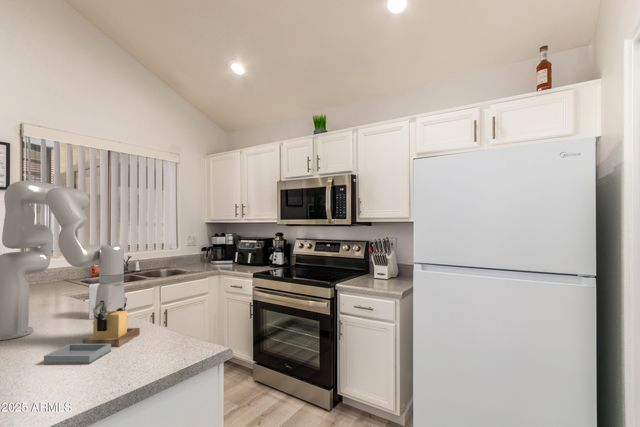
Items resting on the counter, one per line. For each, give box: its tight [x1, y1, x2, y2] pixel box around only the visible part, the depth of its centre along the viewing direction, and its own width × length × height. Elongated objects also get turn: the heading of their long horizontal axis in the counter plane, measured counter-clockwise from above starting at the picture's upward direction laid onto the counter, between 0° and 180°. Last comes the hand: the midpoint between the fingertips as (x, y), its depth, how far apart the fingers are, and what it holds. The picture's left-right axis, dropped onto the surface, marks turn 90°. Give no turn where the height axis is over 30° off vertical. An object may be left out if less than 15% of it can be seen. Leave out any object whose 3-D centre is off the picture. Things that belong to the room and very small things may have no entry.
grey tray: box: [43, 343, 112, 365], centre depth 101 cm, size 14×10×2 cm
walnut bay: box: [82, 327, 141, 348], centre depth 116 cm, size 13×12×2 cm
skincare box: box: [88, 282, 99, 320], centre depth 148 cm, size 8×6×15 cm
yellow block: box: [92, 310, 128, 338], centre depth 116 cm, size 10×5×10 cm, turn 90°
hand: (111, 326), depth 116 cm, fingers open, 9 cm apart
